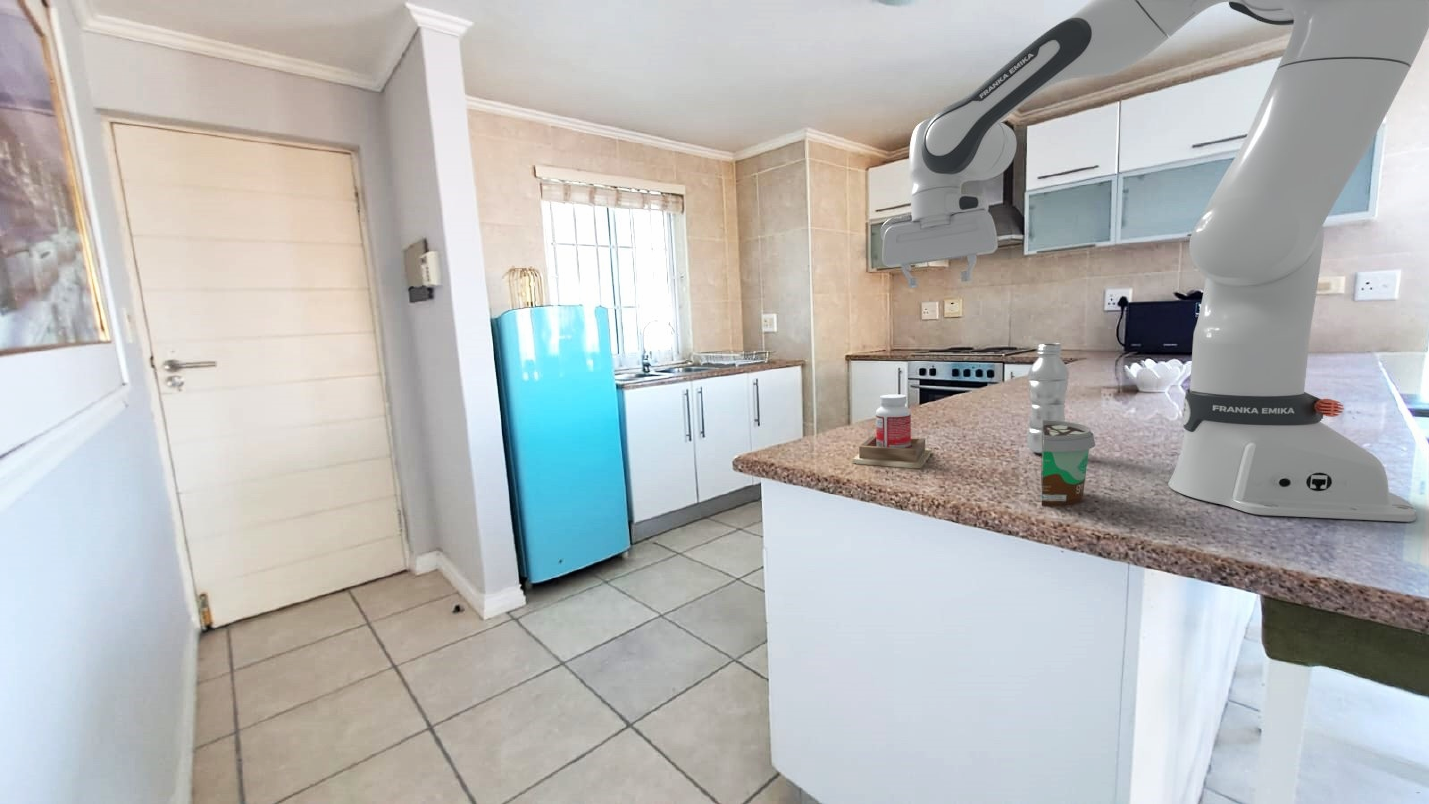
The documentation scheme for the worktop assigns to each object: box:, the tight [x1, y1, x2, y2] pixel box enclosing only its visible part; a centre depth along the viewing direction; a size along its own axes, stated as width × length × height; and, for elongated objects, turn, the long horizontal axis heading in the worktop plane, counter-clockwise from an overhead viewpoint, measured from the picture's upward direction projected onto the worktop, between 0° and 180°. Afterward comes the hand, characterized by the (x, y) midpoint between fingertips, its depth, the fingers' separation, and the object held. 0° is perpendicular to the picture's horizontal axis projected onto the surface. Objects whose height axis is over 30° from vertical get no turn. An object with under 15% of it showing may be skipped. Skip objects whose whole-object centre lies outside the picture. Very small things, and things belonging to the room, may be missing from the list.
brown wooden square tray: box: [852, 435, 933, 469], centre depth 104 cm, size 12×12×3 cm
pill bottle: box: [875, 393, 912, 449], centre depth 103 cm, size 6×6×11 cm
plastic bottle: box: [1025, 343, 1070, 455], centre depth 100 cm, size 6×7×20 cm
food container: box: [1040, 420, 1096, 507], centre depth 77 cm, size 12×6×10 cm, turn 150°
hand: (939, 284), depth 105 cm, fingers open, 8 cm apart
